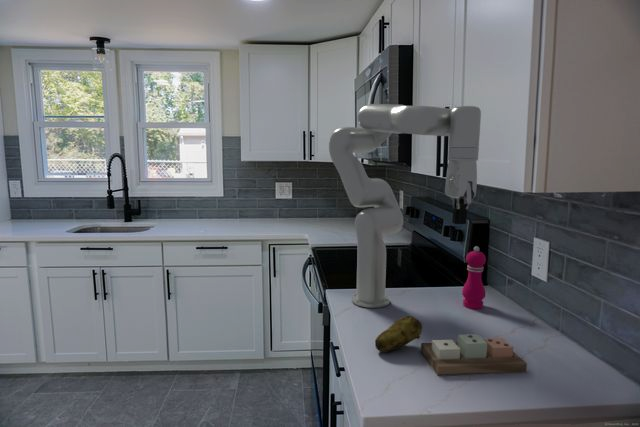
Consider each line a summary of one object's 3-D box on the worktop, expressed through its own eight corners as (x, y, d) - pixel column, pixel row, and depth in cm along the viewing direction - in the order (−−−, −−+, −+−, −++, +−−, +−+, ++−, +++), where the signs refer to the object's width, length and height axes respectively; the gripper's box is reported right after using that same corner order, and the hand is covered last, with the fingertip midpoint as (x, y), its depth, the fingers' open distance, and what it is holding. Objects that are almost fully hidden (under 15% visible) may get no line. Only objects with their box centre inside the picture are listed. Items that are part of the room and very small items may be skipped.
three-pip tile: (482, 353, 106) (483, 337, 105) (501, 353, 106) (502, 337, 106) (491, 363, 101) (493, 347, 100) (512, 363, 101) (513, 346, 101)
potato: (369, 342, 113) (369, 313, 111) (415, 340, 114) (416, 311, 113) (377, 357, 104) (378, 326, 103) (427, 354, 106) (429, 324, 105)
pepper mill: (481, 302, 143) (485, 244, 140) (487, 310, 136) (491, 249, 133) (459, 301, 144) (462, 243, 141) (464, 309, 137) (467, 248, 134)
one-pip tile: (431, 355, 105) (432, 339, 104) (451, 354, 105) (451, 338, 104) (438, 365, 100) (439, 348, 99) (459, 365, 100) (460, 348, 100)
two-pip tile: (457, 350, 105) (458, 333, 104) (476, 349, 105) (477, 333, 105) (465, 359, 100) (466, 343, 99) (486, 359, 101) (487, 342, 100)
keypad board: (420, 350, 108) (421, 342, 108) (499, 348, 110) (500, 340, 110) (437, 375, 96) (438, 366, 96) (526, 372, 98) (526, 363, 98)
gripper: (439, 154, 119) (435, 219, 121) (461, 155, 104) (456, 228, 107) (464, 154, 119) (461, 219, 122) (490, 155, 105) (485, 228, 107)
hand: (459, 223), depth 114 cm, fingers closed
